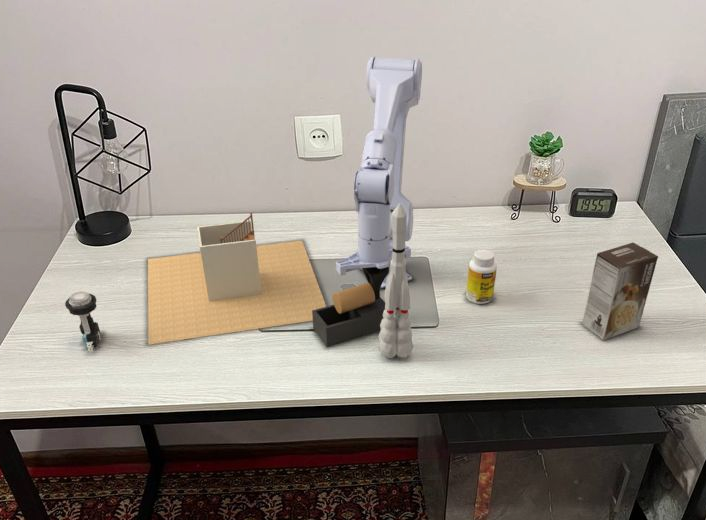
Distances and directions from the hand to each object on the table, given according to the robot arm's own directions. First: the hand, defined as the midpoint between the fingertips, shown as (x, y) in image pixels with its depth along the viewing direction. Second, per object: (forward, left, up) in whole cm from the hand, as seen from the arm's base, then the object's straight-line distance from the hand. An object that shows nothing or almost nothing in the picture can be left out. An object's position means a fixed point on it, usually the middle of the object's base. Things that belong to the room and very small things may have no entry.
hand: (373, 297), depth 133 cm
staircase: (-25, -20, -6) cm, 33 cm away
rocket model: (+10, -1, -6) cm, 12 cm away
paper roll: (0, -4, +1) cm, 4 cm away
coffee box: (+22, +41, -6) cm, 46 cm away
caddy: (0, -5, -6) cm, 8 cm away
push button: (-18, -50, -6) cm, 54 cm away
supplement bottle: (+2, +24, -6) cm, 24 cm away
